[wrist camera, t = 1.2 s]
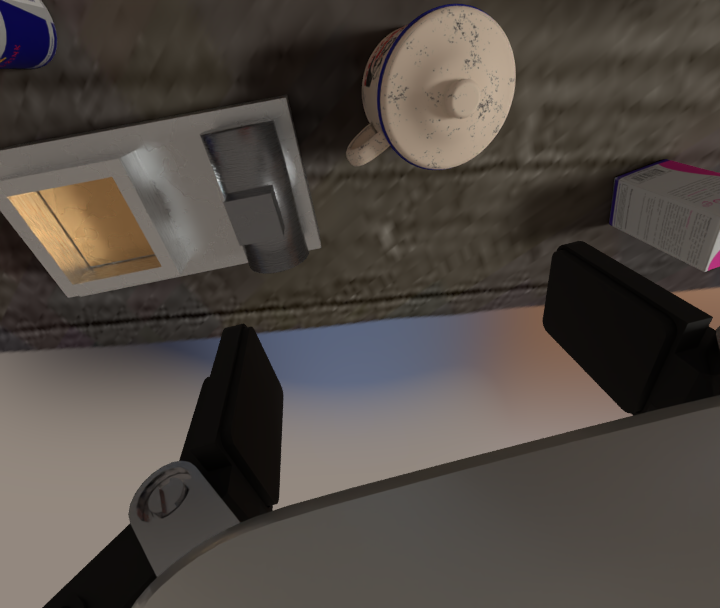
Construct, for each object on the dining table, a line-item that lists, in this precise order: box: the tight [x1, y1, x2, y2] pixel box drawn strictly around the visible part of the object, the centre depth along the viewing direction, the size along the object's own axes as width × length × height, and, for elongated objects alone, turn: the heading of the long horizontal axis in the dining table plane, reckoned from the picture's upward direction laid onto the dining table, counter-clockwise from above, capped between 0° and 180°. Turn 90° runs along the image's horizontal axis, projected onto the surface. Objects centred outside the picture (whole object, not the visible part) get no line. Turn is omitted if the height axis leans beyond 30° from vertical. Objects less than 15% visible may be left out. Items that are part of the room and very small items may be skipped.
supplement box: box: [609, 159, 720, 272], centre depth 33 cm, size 6×6×12 cm
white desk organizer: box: [0, 95, 321, 298], centre depth 26 cm, size 22×12×11 cm, turn 99°
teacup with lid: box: [346, 4, 515, 170], centre depth 25 cm, size 12×9×12 cm
